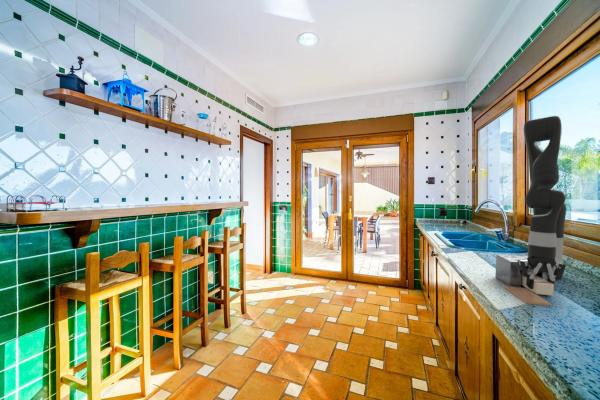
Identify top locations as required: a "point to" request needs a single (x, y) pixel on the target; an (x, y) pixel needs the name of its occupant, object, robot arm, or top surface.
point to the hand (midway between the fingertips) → (539, 288)
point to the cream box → (539, 285)
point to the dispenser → (512, 269)
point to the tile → (527, 296)
